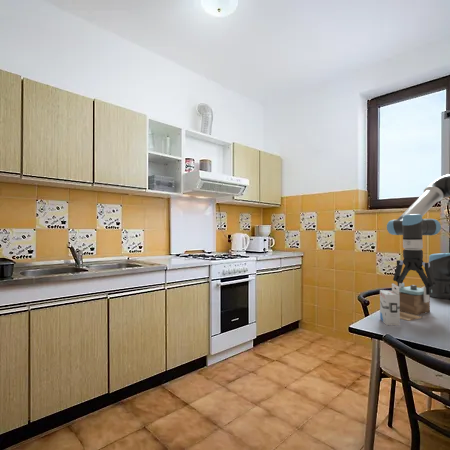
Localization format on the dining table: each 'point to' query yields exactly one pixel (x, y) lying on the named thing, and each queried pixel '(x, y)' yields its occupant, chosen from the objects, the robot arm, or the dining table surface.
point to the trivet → (408, 316)
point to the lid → (412, 290)
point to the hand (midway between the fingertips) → (413, 299)
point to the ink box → (390, 306)
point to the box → (413, 304)
